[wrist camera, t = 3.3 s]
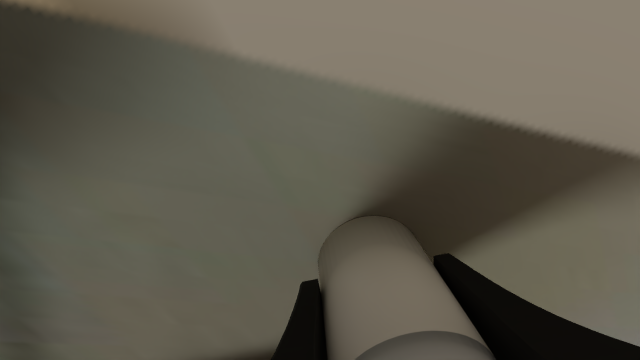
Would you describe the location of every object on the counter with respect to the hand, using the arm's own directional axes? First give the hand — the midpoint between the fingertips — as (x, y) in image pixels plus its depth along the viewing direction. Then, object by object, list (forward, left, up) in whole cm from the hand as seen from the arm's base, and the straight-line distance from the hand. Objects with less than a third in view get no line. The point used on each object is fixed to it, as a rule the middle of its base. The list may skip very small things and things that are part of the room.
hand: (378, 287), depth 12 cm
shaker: (0, 0, -2) cm, 2 cm away
